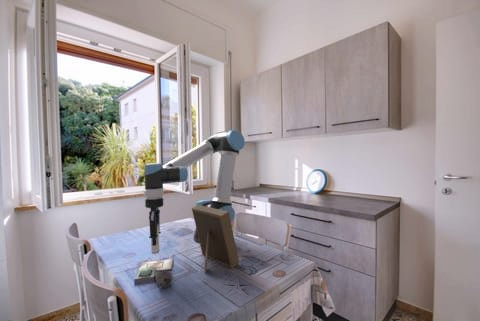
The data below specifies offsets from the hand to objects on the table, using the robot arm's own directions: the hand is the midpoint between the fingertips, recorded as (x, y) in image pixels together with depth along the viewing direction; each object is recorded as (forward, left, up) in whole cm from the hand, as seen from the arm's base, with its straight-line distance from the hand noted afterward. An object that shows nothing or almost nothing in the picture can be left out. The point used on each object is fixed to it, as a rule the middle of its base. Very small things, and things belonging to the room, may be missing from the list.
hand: (155, 250), depth 100 cm
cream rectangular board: (0, +1, -7) cm, 7 cm away
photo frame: (-24, +3, -8) cm, 26 cm away
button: (+2, +10, -7) cm, 12 cm away
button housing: (+2, +10, -7) cm, 12 cm away
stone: (-5, +16, -8) cm, 18 cm away
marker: (0, 0, -1) cm, 1 cm away
